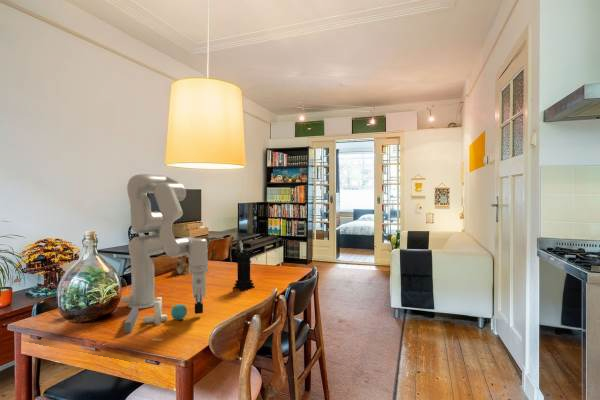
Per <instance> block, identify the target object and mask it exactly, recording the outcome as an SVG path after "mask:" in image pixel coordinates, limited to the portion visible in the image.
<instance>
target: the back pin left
mask: <svg viewBox="0 0 600 400" xmlns="http://www.w3.org/2000/svg"><path fill="white" fill-rule="evenodd" d="M155 301H161V315H163V298H162V297H161V296H160V297H159V296H158V297H155Z"/></svg>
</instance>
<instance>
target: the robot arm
mask: <svg viewBox="0 0 600 400" xmlns="http://www.w3.org/2000/svg"><path fill="white" fill-rule="evenodd" d="M126 188H127V194H128V200H129V205H130V225H131V229H132V231H133V232H134V233H136V234H144V233H151V234H147V235H140V236H135V237H134V238H132V239H131V240H130V241H129V243H128V247H127V248H128V252H129V253H128V254H129V258H130V267H131V268H130V269H131V270H130V271H131V273H130V274H131V277H130V278H131V295H130V296H127V297H126V296H125V297H124V296H122V297H121V298H120V302H122V303H127V304H128V305H127V307H128V308H129V309H132V308H133V307H137V306H138V310H140V309H148V308H151V307H154V302H155V298H156V297H155V292H156V291H155V264H154V261H153V259H151V257H150V256H155V255H159V254H162V253H163V254H164V253H165V254H166V255H167V256H168V257H170V258H178V257H179V256H184V255H188V257H189V273H188V274H189V275H191V284H192V285H191V286H192V287H191V288H192V289H191V290H192V297H193V299H194V301H195V302H194V314H195V315H197V314H203V313H204V302H203V298H206V297H207V281H206V279H207V278H206V273H208V272H209V271H208V270H209V269H208V268H209V265H208V264H209V262H208V258H209V257H208V254H209V253H208V240H207V239H206V238H203V237H202V238H201V237H200V238H196V237H193V236H185V237H179V238H175V236H174V233H173V225H174V222H175V221H177V220H179V219H181V218H182V216H183V214H184V212H183V209H182V206H181V203H180V202H182V201H184V200H185V199H186V196H187V190H186V187H185V186H184V185H183V184H182V183H181V182H178V181H177V180H174V179H173V178H171V177H168V176H167V175H161V174H146V173H140V174H135V175H133V176H131V178H130V179H129V180H128V182H127V185H126ZM146 194H153V195H154V198H155V200H156V204H157V206H158V209H159V211H152V204H151V203H152V202H151V200H150V199H149V197H148V195H146Z"/></svg>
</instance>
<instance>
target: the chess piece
mask: <svg viewBox="0 0 600 400" xmlns="http://www.w3.org/2000/svg"><path fill="white" fill-rule="evenodd" d="M253 253H254V250H249V251H248V252H247V249H242V250H241V251H240V252H239V250H234V251H233V254H234V258H236V260H237V261H236V262H235V263H236V264H237V280H235V283H234V284H233V285H234V286H233V289H235V290H239V291H248V290H251V289H254V288H255V285H254V282H253V280H252V279H251V263H252V261H251V258H252V257H253Z"/></svg>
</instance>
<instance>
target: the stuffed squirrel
mask: <svg viewBox="0 0 600 400" xmlns="http://www.w3.org/2000/svg"><path fill="white" fill-rule="evenodd" d="M176 260H177V262H175V264H174V267H175V269H174V271H172V272H171V275H183V276H187V275H189V274H190V273H189V255H184V256H179V257H176Z"/></svg>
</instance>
